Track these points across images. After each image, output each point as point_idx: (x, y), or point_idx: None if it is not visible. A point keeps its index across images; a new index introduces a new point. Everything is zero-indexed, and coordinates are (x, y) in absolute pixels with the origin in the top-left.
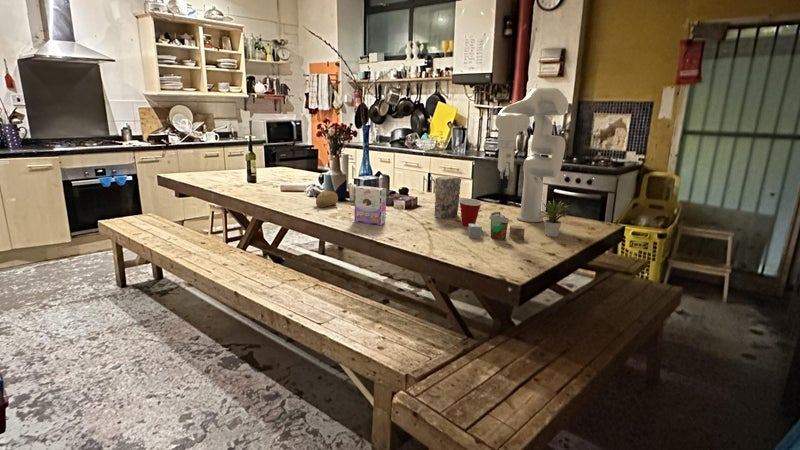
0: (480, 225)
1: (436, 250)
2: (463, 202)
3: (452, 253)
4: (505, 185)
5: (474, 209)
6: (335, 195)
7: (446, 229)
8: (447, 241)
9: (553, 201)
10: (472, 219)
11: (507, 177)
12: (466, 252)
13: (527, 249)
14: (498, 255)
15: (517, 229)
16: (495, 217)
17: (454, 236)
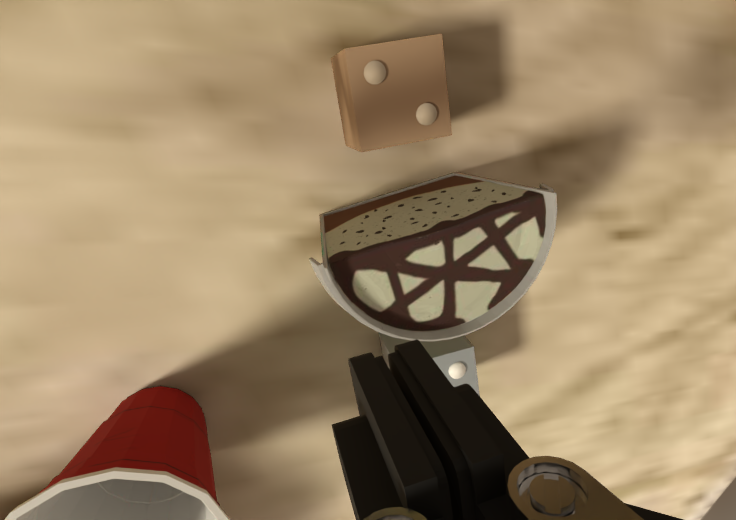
0: (435, 359)
1: (674, 458)
2: None
3: (706, 397)
4: (471, 395)
5: (203, 481)
6: None
7: (314, 509)
8: (542, 452)
9: None
10: (200, 431)
11: (601, 502)
12: (690, 349)
13: (615, 42)
14: (723, 209)
15: (445, 96)
16: (514, 295)
17: None
